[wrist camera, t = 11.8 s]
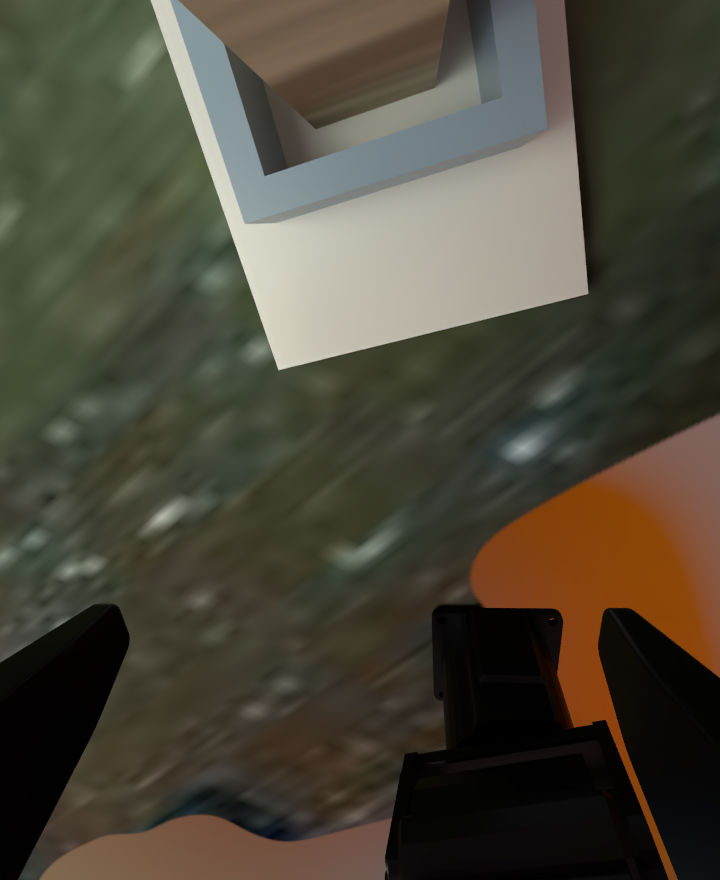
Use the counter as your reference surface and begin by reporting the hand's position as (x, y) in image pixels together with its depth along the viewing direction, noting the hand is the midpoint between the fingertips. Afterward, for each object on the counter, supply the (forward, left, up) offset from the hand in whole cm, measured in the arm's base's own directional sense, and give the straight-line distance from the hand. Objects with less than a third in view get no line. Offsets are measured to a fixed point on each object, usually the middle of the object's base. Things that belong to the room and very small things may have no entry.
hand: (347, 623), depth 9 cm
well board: (+10, 0, -13) cm, 16 cm away
